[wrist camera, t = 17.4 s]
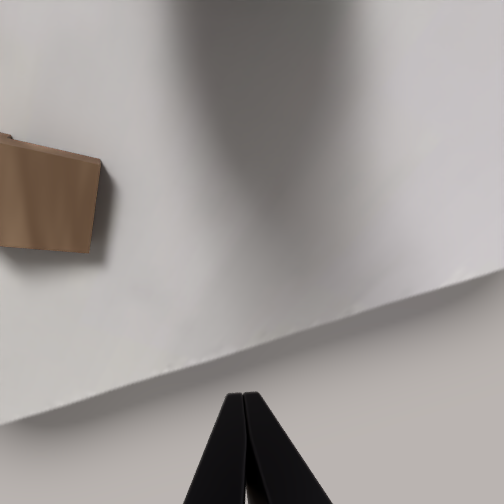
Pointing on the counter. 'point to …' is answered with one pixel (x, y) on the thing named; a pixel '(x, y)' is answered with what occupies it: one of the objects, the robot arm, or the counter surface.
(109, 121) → the counter surface
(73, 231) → the domino
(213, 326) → the counter surface
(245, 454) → the robot arm
